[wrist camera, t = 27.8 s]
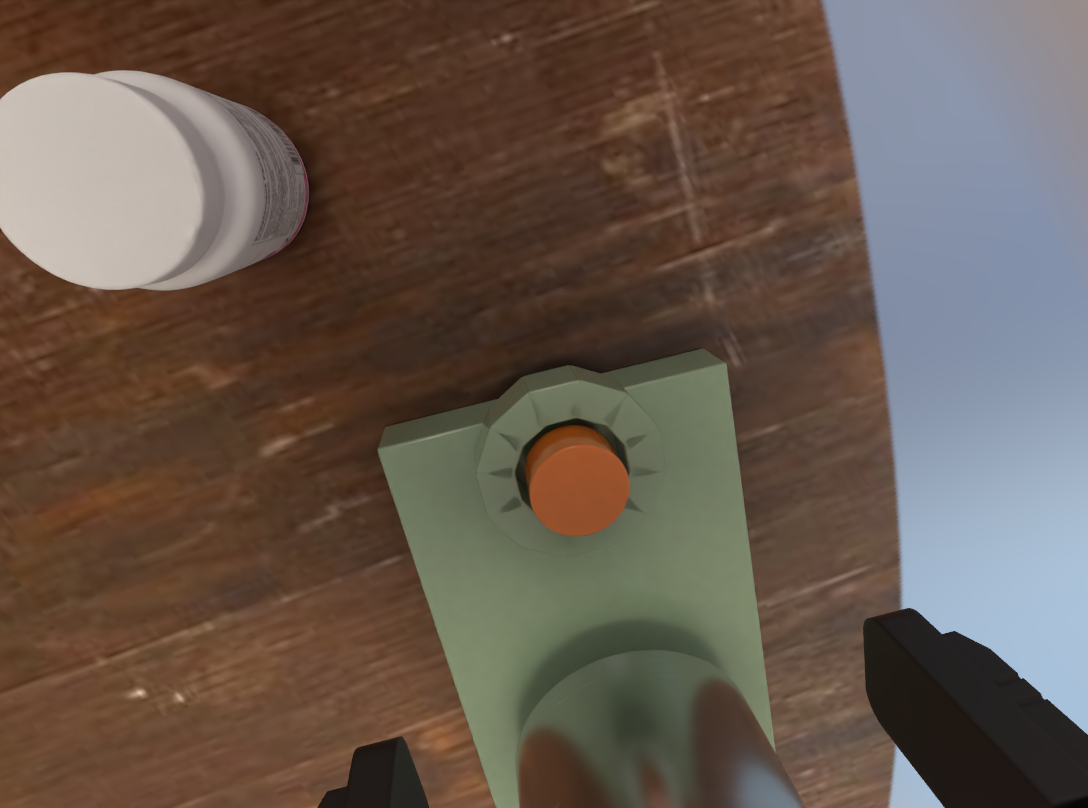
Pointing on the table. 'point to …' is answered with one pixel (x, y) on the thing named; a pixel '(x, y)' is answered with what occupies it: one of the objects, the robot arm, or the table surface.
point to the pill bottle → (143, 181)
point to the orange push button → (576, 481)
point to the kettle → (648, 740)
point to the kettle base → (579, 541)
